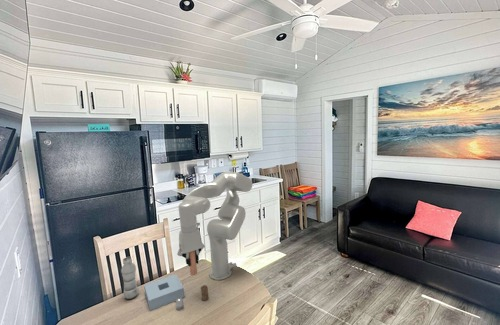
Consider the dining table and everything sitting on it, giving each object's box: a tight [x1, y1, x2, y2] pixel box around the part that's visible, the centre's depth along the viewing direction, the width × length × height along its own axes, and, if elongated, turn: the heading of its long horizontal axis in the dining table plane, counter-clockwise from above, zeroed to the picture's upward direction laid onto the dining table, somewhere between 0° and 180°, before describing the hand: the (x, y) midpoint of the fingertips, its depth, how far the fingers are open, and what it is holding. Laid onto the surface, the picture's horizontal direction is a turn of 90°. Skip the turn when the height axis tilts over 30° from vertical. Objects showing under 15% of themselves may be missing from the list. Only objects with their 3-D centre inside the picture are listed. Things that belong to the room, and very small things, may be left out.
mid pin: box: [200, 284, 209, 302], centre depth 119 cm, size 3×3×6 cm
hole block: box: [143, 273, 186, 311], centre depth 123 cm, size 16×14×5 cm
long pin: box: [189, 251, 198, 276], centre depth 119 cm, size 3×3×12 cm
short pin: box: [175, 297, 184, 311], centre depth 114 cm, size 3×3×4 cm
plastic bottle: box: [120, 256, 139, 300], centre depth 122 cm, size 6×7×20 cm
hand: (192, 263), depth 119 cm, fingers closed on long pin, 3 cm apart
